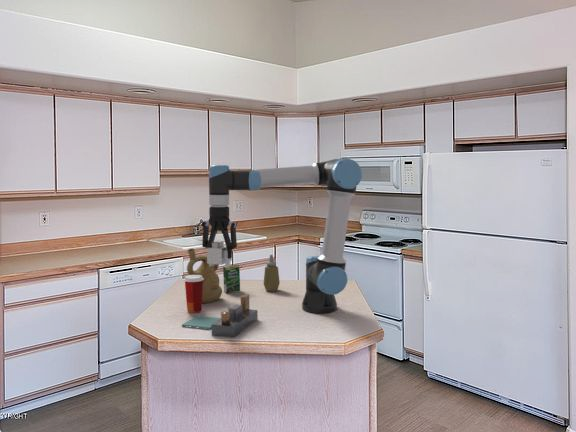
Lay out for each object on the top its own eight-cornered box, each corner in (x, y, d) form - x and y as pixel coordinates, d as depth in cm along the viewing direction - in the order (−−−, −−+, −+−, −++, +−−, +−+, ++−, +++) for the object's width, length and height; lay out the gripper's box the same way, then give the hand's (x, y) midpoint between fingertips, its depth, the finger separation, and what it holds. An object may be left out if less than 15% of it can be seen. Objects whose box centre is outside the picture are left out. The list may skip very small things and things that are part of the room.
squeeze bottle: (270, 287, 248) (270, 253, 246) (283, 290, 243) (282, 254, 241) (260, 290, 242) (259, 255, 240) (272, 293, 236) (272, 257, 235)
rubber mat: (223, 320, 194) (223, 318, 194) (209, 329, 183) (209, 327, 183) (197, 317, 198) (197, 315, 198) (181, 326, 187) (181, 324, 187)
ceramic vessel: (231, 297, 229) (230, 245, 226) (202, 307, 213) (200, 251, 210) (204, 292, 238) (203, 242, 236) (174, 302, 222) (173, 248, 220)
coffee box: (226, 293, 237) (225, 267, 236) (223, 292, 239) (222, 266, 238) (240, 291, 241) (240, 265, 240) (237, 289, 244) (237, 264, 243)
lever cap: (231, 260, 189) (231, 240, 188) (221, 264, 180) (221, 243, 180) (217, 259, 191) (217, 239, 190) (207, 263, 182) (206, 242, 181)
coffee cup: (205, 308, 212) (204, 274, 211) (202, 313, 204) (202, 278, 202) (186, 308, 212) (185, 274, 210) (182, 313, 204) (181, 278, 202)
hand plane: (257, 319, 195) (257, 295, 194) (234, 337, 174) (233, 310, 173) (237, 317, 198) (236, 293, 197) (211, 335, 177) (211, 308, 176)
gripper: (246, 206, 184) (246, 266, 186) (201, 204, 190) (202, 262, 192) (238, 207, 177) (238, 269, 179) (192, 205, 183) (192, 266, 185)
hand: (219, 266), depth 186 cm, fingers closed on lever cap, 6 cm apart
